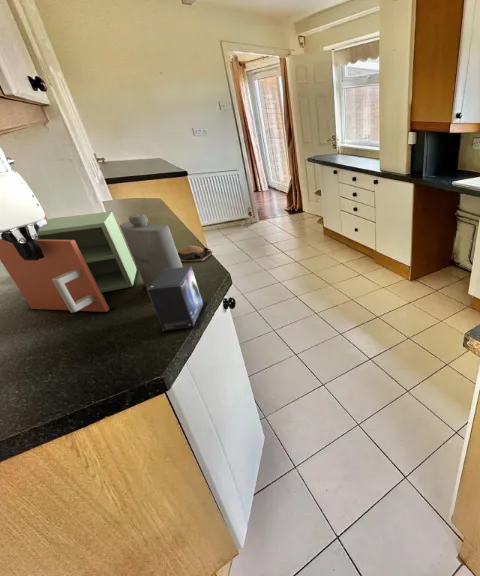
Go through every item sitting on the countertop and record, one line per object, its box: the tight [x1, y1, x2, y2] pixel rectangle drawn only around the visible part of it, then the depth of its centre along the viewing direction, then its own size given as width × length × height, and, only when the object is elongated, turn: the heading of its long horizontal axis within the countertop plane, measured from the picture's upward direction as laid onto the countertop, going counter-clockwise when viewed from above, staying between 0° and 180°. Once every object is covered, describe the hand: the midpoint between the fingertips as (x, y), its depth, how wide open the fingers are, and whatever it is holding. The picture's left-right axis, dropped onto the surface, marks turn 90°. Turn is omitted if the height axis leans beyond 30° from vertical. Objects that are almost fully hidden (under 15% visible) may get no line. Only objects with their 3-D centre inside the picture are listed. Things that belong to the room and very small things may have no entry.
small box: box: [146, 266, 204, 332], centre depth 70 cm, size 11×6×10 cm, turn 17°
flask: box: [119, 213, 184, 289], centre depth 81 cm, size 15×6×20 cm, turn 64°
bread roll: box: [177, 245, 214, 263], centre depth 104 cm, size 11×8×4 cm
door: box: [0, 239, 110, 313], centre depth 70 cm, size 6×20×18 cm, turn 85°
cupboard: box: [37, 210, 138, 294], centre depth 83 cm, size 13×20×18 cm, turn 121°
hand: (34, 258), depth 67 cm, fingers closed
